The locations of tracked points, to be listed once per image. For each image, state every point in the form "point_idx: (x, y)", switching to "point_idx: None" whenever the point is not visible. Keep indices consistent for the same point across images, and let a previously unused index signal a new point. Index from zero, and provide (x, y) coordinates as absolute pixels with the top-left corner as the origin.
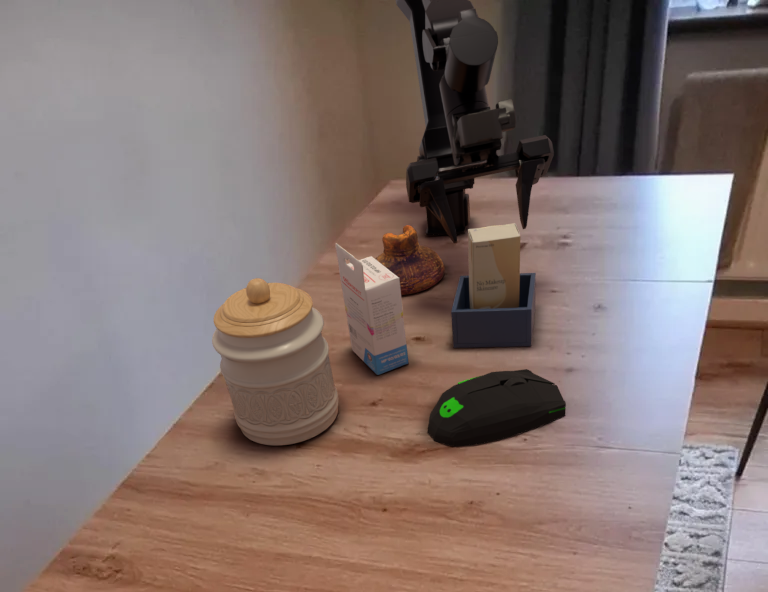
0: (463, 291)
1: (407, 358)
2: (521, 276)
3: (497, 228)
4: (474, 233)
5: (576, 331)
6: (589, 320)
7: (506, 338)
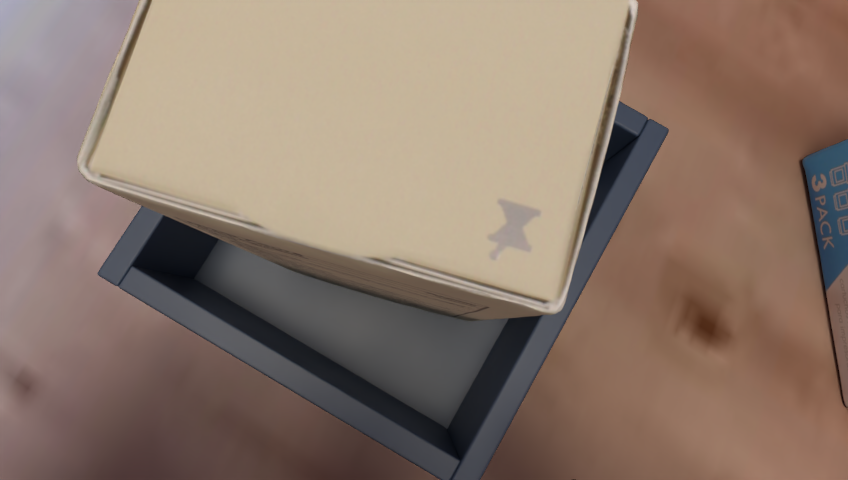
0: (479, 407)
1: (820, 151)
2: (179, 292)
3: (299, 133)
4: (551, 157)
5: None
6: (48, 76)
7: None
